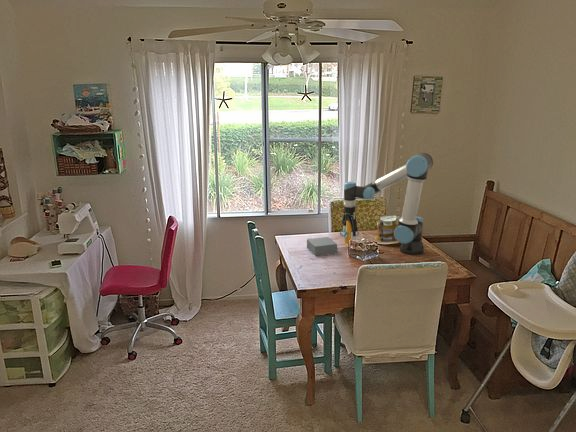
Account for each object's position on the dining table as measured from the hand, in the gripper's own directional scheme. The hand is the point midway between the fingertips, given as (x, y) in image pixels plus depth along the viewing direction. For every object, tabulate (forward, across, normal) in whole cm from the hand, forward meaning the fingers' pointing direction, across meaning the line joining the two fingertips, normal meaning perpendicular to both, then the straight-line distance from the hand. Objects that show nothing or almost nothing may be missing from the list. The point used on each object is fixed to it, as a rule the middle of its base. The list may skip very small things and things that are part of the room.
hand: (349, 237), depth 323 cm
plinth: (+6, 0, -19) cm, 20 cm away
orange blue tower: (+4, 0, 0) cm, 4 cm away
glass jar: (+7, -3, +32) cm, 32 cm away
